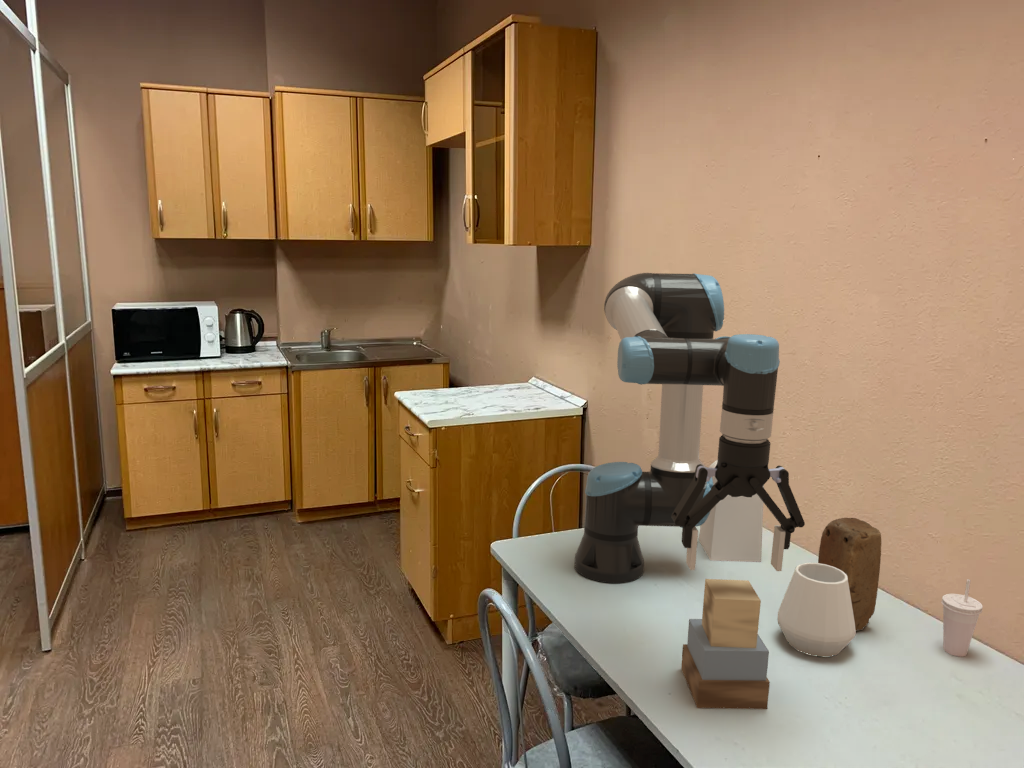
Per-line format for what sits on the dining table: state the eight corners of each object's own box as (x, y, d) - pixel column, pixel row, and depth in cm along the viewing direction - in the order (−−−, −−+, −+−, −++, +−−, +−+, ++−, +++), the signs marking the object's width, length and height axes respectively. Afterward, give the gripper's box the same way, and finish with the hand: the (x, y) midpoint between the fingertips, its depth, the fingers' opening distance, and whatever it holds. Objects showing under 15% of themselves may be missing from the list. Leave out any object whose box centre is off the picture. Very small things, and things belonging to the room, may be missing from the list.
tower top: (687, 646, 130) (689, 618, 129) (746, 646, 131) (748, 619, 130) (702, 679, 120) (704, 650, 120) (766, 680, 121) (769, 651, 120)
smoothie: (960, 663, 136) (972, 589, 133) (927, 646, 141) (937, 574, 139) (983, 655, 139) (994, 582, 136) (949, 638, 144) (959, 568, 141)
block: (876, 631, 146) (889, 531, 142) (842, 636, 144) (854, 534, 140) (838, 605, 156) (849, 511, 153) (806, 608, 154) (816, 513, 151)
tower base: (681, 671, 132) (682, 644, 131) (745, 672, 132) (747, 645, 131) (697, 710, 121) (699, 681, 120) (767, 711, 121) (769, 682, 120)
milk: (761, 562, 176) (771, 452, 171) (710, 560, 177) (719, 450, 172) (746, 541, 188) (755, 437, 183) (698, 540, 188) (706, 436, 183)
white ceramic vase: (846, 672, 132) (855, 596, 130) (766, 648, 139) (773, 576, 136) (859, 638, 143) (867, 568, 141) (784, 618, 150) (791, 551, 148)
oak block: (701, 624, 128) (705, 578, 126) (744, 625, 127) (748, 580, 126) (711, 646, 121) (715, 598, 119) (756, 648, 121) (760, 600, 119)
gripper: (668, 442, 114) (659, 576, 118) (836, 445, 114) (821, 578, 119) (658, 429, 121) (650, 555, 125) (816, 432, 122) (802, 557, 126)
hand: (733, 567), depth 122 cm, fingers open, 13 cm apart
